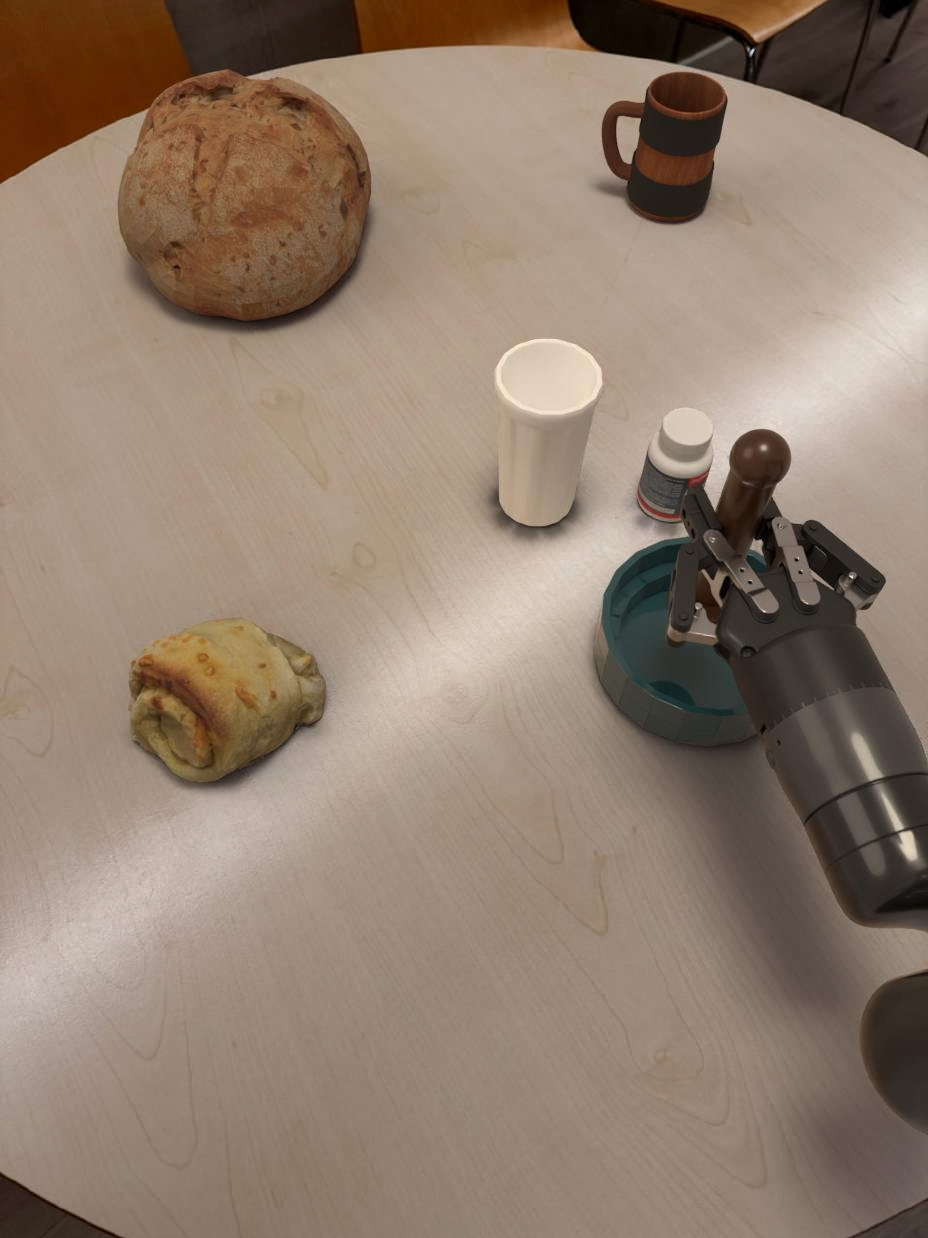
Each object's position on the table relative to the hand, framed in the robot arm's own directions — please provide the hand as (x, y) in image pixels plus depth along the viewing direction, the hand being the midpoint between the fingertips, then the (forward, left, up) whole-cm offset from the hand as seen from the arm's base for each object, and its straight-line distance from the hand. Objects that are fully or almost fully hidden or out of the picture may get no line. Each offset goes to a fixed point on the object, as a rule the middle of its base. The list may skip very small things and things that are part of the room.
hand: (717, 489), depth 65 cm
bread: (+12, -58, -18) cm, 62 cm away
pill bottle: (-7, -11, -18) cm, 22 cm away
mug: (-28, -46, -18) cm, 57 cm away
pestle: (+1, +3, -9) cm, 9 cm away
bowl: (0, +3, -17) cm, 18 cm away
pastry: (+33, -9, -18) cm, 38 cm away
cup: (+3, -16, -18) cm, 24 cm away
